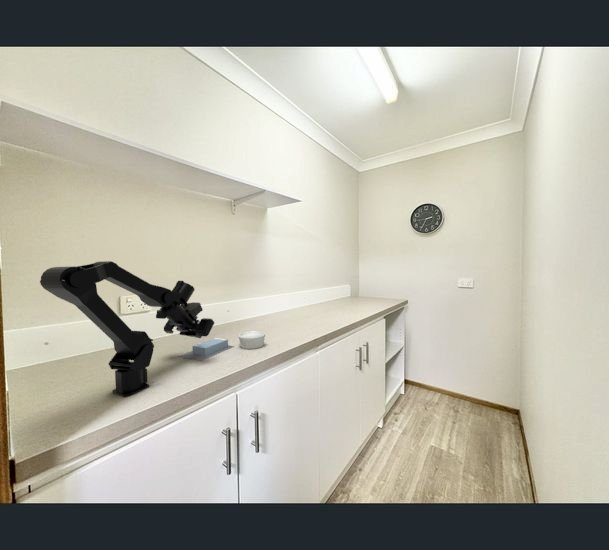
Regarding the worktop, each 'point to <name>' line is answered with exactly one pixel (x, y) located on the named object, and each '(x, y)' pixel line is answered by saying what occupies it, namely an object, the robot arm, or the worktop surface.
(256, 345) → the ramekin
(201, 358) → the mat
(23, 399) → the worktop surface
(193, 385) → the worktop surface
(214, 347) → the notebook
